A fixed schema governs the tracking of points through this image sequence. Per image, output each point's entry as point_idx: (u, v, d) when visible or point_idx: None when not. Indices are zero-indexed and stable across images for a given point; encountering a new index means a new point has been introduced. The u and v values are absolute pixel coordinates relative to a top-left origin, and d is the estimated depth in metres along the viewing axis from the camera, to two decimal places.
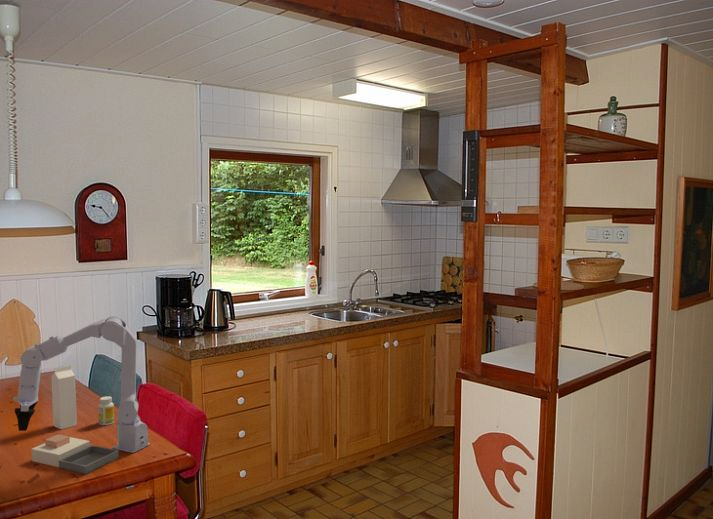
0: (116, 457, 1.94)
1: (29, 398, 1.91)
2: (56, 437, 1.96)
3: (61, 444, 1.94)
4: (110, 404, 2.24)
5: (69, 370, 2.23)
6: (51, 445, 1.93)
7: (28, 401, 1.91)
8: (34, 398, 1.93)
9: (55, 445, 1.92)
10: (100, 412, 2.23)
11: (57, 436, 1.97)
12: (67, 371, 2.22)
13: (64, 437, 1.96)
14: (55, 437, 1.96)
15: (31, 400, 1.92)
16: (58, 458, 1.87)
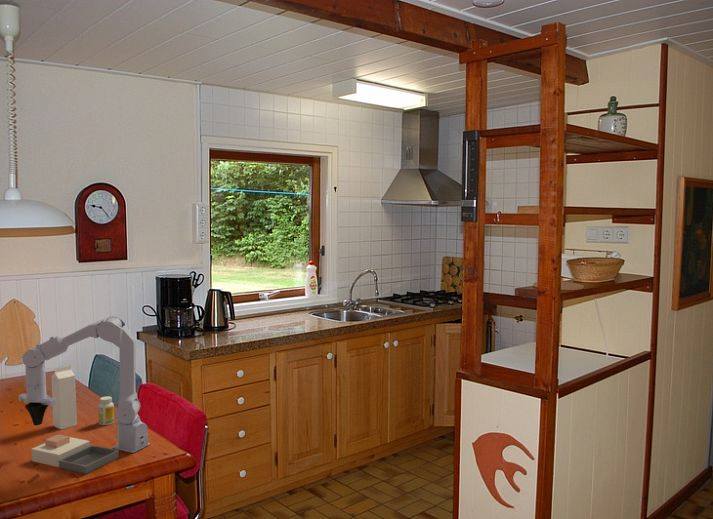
0: (116, 457, 1.94)
1: (44, 395, 1.97)
2: (56, 437, 1.96)
3: (61, 444, 1.94)
4: (110, 404, 2.24)
5: (69, 370, 2.23)
6: (51, 445, 1.93)
7: (44, 398, 1.97)
8: None
9: (55, 445, 1.92)
10: (100, 412, 2.23)
11: (57, 436, 1.97)
12: (67, 371, 2.22)
13: (64, 437, 1.96)
14: (55, 437, 1.96)
15: (46, 396, 1.98)
16: (58, 458, 1.87)
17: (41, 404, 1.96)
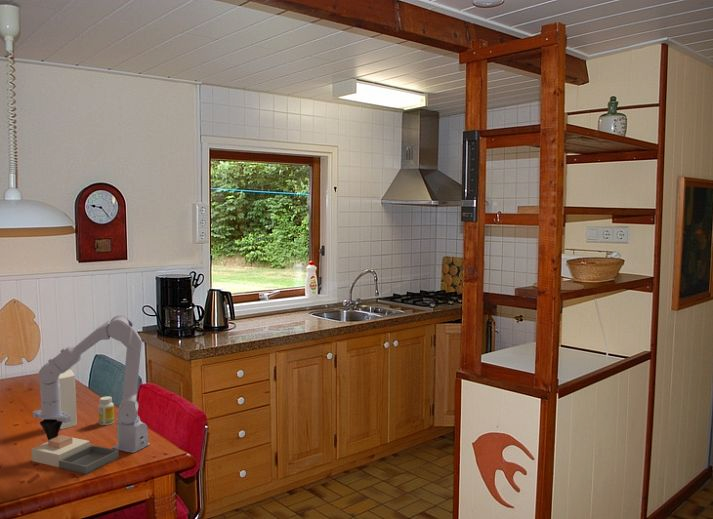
0: (116, 457, 1.94)
1: (59, 412, 1.95)
2: (59, 438, 1.95)
3: (64, 445, 1.93)
4: (110, 404, 2.24)
5: (69, 370, 2.23)
6: (54, 446, 1.93)
7: (59, 414, 1.95)
8: None
9: (58, 446, 1.92)
10: (100, 412, 2.23)
11: (60, 437, 1.96)
12: (67, 371, 2.22)
13: (67, 438, 1.95)
14: (58, 438, 1.95)
15: (60, 413, 1.96)
16: (58, 458, 1.87)
17: (56, 421, 1.94)
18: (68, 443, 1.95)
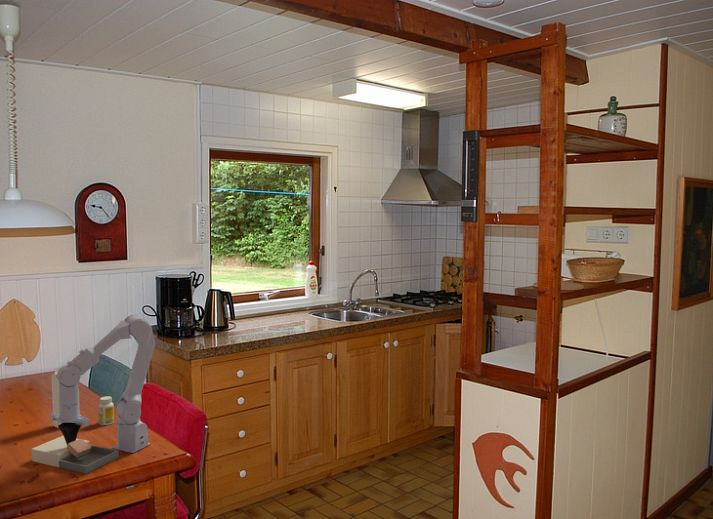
0: (116, 457, 1.94)
1: (78, 415, 1.92)
2: (79, 443, 1.92)
3: (81, 454, 1.91)
4: (110, 404, 2.24)
5: None
6: (72, 452, 1.90)
7: (78, 417, 1.92)
8: (79, 413, 1.94)
9: (76, 454, 1.89)
10: (100, 412, 2.23)
11: (80, 442, 1.93)
12: None
13: (86, 446, 1.92)
14: (78, 443, 1.92)
15: (79, 416, 1.93)
16: (58, 458, 1.87)
17: (75, 424, 1.91)
18: (86, 452, 1.92)
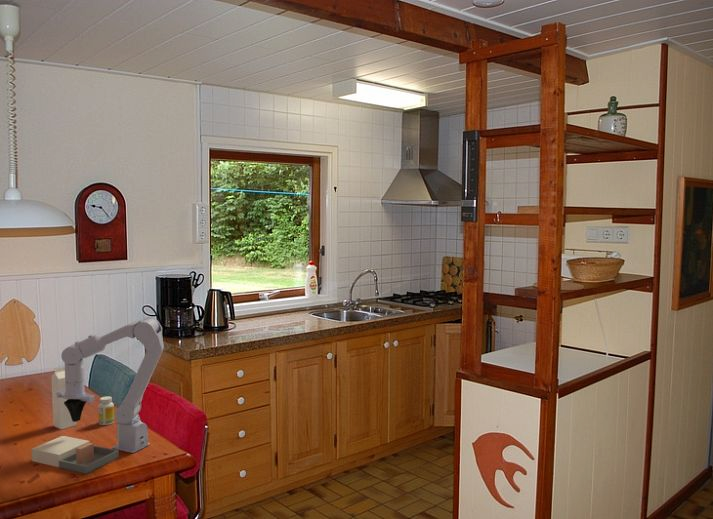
0: (116, 457, 1.94)
1: (83, 392, 2.00)
2: (88, 451, 1.91)
3: None
4: (110, 404, 2.24)
5: None
6: (77, 456, 1.89)
7: (83, 394, 2.00)
8: (84, 391, 2.02)
9: (78, 462, 1.89)
10: (100, 412, 2.23)
11: (89, 449, 1.91)
12: None
13: (91, 457, 1.92)
14: (87, 450, 1.91)
15: (84, 393, 2.01)
16: (58, 458, 1.87)
17: (80, 401, 1.99)
18: None
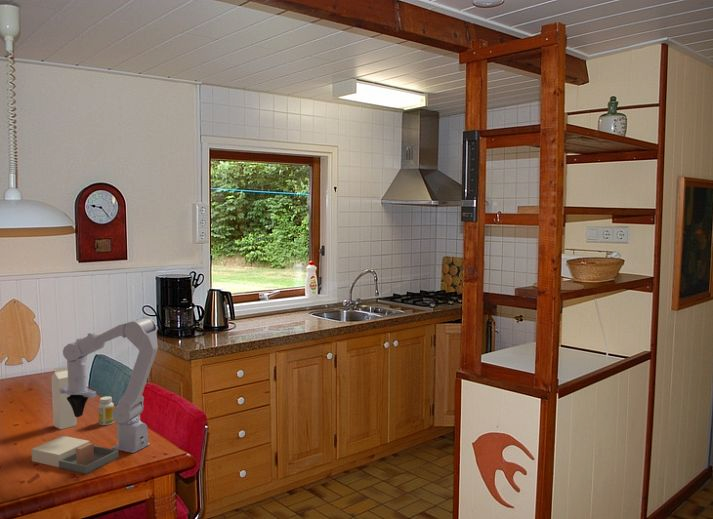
0: (116, 457, 1.94)
1: (85, 388, 2.05)
2: (88, 451, 1.91)
3: None
4: (110, 404, 2.24)
5: None
6: (77, 456, 1.89)
7: (85, 390, 2.05)
8: (86, 387, 2.06)
9: (78, 462, 1.89)
10: (100, 412, 2.23)
11: (89, 449, 1.91)
12: (67, 371, 2.22)
13: (91, 457, 1.92)
14: (87, 450, 1.91)
15: (86, 389, 2.06)
16: (58, 458, 1.87)
17: (82, 396, 2.04)
18: None
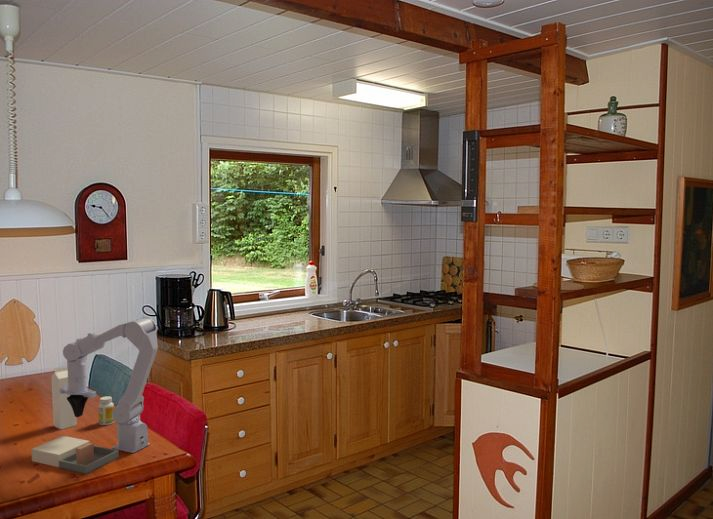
0: (116, 457, 1.94)
1: (85, 388, 2.05)
2: (88, 451, 1.91)
3: None
4: (110, 404, 2.24)
5: None
6: (77, 456, 1.89)
7: (85, 390, 2.05)
8: (86, 387, 2.06)
9: (78, 462, 1.89)
10: (100, 412, 2.23)
11: (89, 449, 1.91)
12: (67, 371, 2.22)
13: (91, 457, 1.92)
14: (87, 450, 1.91)
15: (86, 389, 2.06)
16: (58, 458, 1.87)
17: (82, 396, 2.04)
18: None
